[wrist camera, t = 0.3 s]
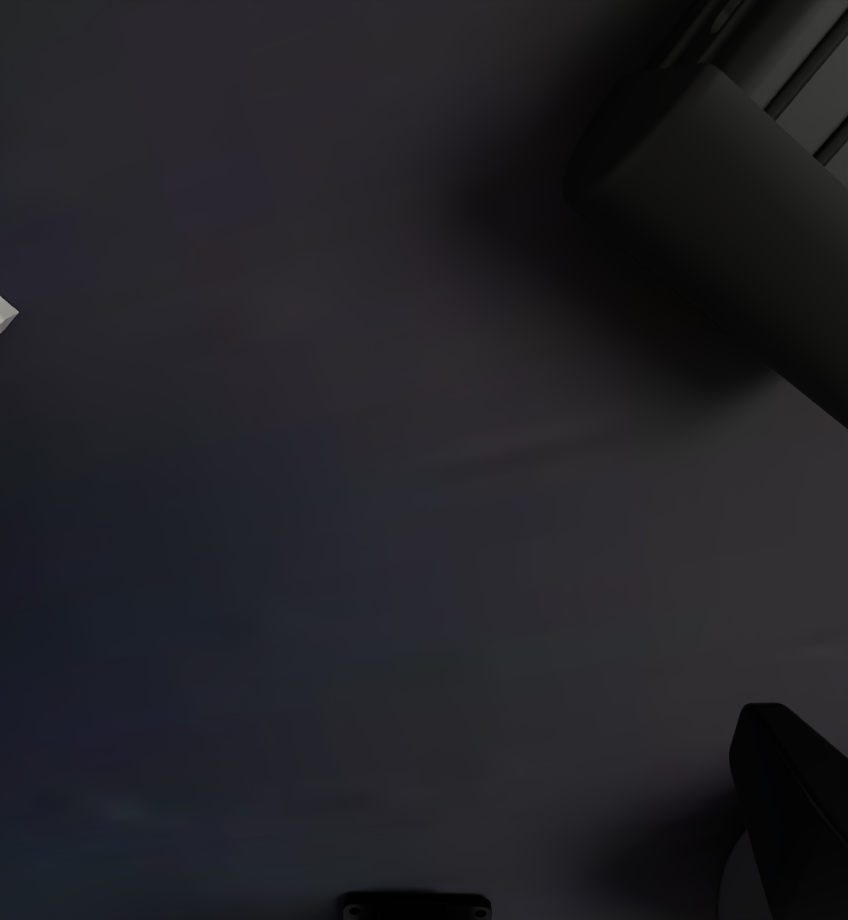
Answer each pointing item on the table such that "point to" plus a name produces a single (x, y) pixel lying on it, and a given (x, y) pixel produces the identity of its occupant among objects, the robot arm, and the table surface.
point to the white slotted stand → (6, 314)
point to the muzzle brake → (741, 885)
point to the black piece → (738, 179)
